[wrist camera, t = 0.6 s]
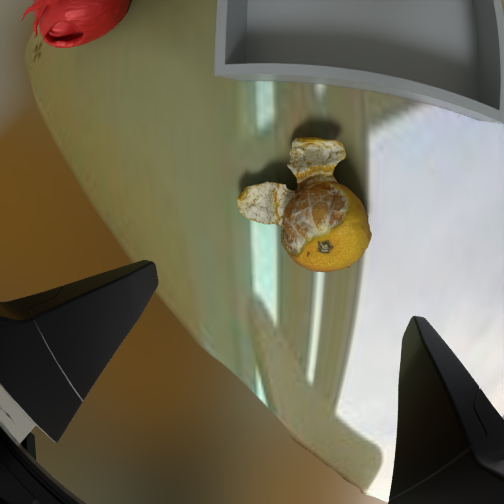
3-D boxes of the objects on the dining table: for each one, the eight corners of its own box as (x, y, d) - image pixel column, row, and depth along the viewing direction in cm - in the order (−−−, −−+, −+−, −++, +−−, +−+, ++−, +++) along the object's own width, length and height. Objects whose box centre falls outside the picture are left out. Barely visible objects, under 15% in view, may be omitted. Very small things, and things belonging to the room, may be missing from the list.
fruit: (318, 119, 16) (314, 123, 13) (400, 217, 17) (411, 243, 14) (231, 200, 20) (211, 222, 17) (309, 280, 22) (303, 311, 19)
